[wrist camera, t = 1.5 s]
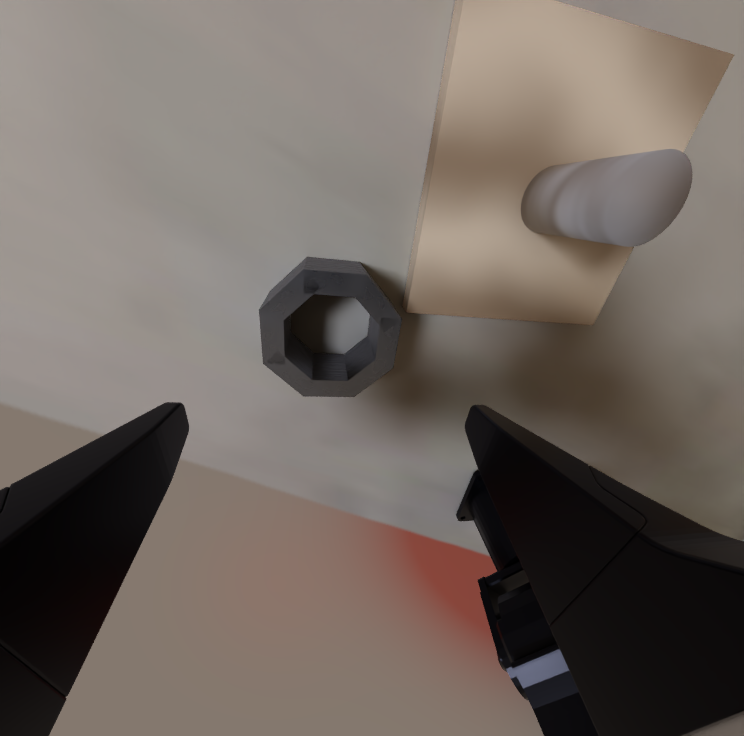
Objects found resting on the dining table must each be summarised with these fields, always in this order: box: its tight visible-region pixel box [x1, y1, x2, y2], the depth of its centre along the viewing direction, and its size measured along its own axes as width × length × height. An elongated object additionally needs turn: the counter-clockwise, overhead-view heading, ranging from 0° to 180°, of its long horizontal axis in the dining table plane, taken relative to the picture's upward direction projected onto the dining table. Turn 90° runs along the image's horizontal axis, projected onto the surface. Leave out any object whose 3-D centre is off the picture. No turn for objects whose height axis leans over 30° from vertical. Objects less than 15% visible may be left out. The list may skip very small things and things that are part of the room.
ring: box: [259, 257, 402, 397], centre depth 15 cm, size 6×6×3 cm
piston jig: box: [402, 0, 734, 325], centre depth 12 cm, size 12×12×6 cm
